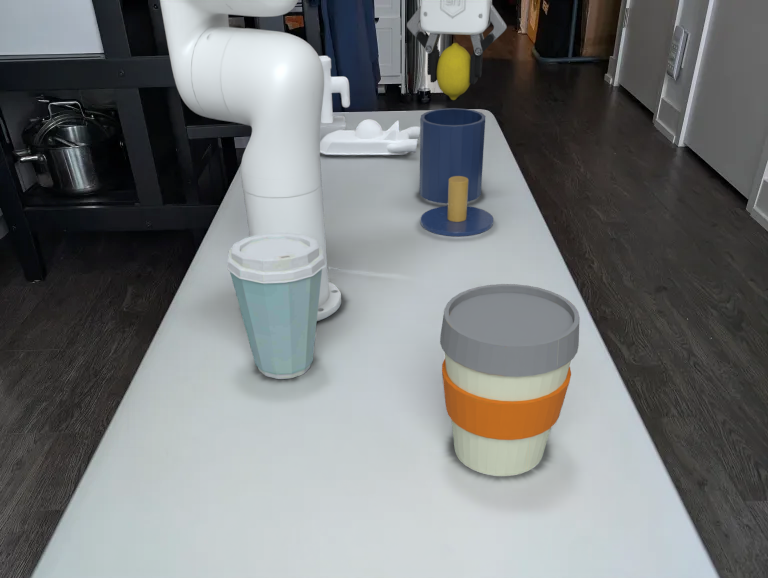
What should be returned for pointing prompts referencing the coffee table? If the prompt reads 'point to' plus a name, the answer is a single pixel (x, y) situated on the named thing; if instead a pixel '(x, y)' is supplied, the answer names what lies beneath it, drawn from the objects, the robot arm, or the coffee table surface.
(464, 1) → the robot arm
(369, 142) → the plane toy
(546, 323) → the reusable coffee cup
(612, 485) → the coffee table surface
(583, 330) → the coffee table surface
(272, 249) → the disposable coffee cup
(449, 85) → the lemon
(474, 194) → the tin
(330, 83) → the white faucet
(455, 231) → the tin lid
